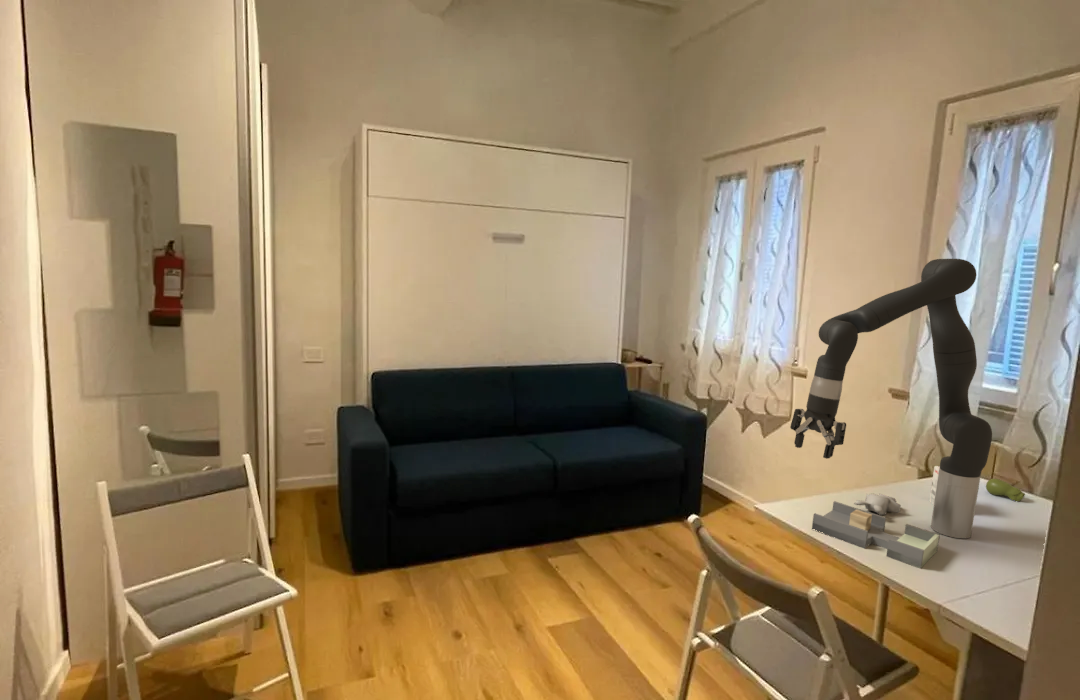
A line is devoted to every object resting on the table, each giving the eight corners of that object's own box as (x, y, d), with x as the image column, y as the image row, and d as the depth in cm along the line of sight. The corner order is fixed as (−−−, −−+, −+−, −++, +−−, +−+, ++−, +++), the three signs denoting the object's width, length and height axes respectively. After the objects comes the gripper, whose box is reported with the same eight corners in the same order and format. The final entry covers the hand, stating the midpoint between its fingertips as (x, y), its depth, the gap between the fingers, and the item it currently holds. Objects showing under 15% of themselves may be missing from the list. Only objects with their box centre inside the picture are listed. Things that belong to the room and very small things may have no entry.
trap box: (832, 516, 172) (834, 501, 171) (937, 550, 153) (939, 534, 152) (811, 529, 162) (813, 513, 161) (920, 568, 143) (923, 550, 143)
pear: (991, 474, 196) (1028, 488, 189) (985, 488, 198) (1022, 503, 191) (987, 477, 192) (1025, 492, 185) (981, 492, 194) (1018, 507, 187)
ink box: (959, 514, 176) (965, 476, 175) (940, 512, 177) (946, 474, 176) (945, 503, 185) (951, 466, 183) (928, 501, 186) (933, 465, 184)
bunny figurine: (907, 498, 176) (886, 504, 167) (904, 515, 177) (882, 521, 168) (874, 488, 184) (851, 492, 175) (871, 504, 184) (848, 509, 175)
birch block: (854, 523, 162) (856, 509, 162) (870, 528, 160) (872, 514, 159) (848, 527, 160) (850, 513, 159) (864, 532, 157) (866, 518, 156)
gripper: (858, 401, 155) (844, 461, 157) (809, 387, 166) (797, 443, 169) (841, 401, 151) (827, 462, 153) (792, 387, 163) (780, 444, 165)
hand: (812, 452), depth 161 cm, fingers open, 8 cm apart
